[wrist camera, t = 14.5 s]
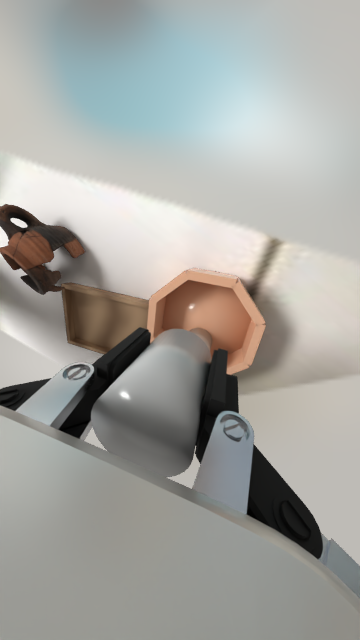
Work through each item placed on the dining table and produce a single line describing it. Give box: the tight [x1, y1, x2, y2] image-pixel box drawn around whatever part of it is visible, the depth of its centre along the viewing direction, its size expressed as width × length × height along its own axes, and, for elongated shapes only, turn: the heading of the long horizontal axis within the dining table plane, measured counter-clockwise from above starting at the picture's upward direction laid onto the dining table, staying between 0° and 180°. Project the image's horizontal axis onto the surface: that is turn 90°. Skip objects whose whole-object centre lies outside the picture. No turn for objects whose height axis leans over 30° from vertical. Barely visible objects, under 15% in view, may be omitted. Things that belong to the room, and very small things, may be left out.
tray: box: [61, 282, 149, 354], centre depth 30 cm, size 16×11×2 cm
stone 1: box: [91, 329, 211, 477], centre depth 9 cm, size 4×4×6 cm
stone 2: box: [189, 328, 212, 351], centre depth 24 cm, size 4×4×6 cm
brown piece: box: [0, 204, 85, 295], centre depth 26 cm, size 12×10×8 cm
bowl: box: [147, 268, 266, 375], centre depth 24 cm, size 14×14×4 cm
